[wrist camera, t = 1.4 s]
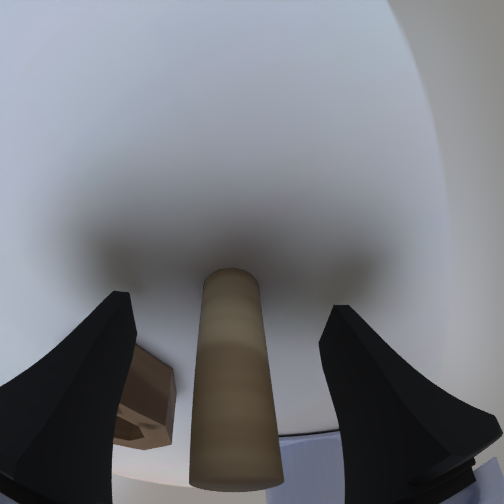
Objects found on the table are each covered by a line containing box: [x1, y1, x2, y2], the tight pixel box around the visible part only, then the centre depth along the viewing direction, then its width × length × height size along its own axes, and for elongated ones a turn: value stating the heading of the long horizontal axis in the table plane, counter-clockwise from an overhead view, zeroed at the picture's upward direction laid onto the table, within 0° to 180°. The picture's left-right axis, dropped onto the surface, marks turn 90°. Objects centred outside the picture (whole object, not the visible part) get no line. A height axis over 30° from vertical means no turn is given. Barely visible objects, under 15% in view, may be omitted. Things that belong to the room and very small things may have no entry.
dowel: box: [189, 268, 284, 492], centre depth 8 cm, size 2×2×8 cm
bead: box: [113, 344, 176, 450], centre depth 13 cm, size 7×7×4 cm
